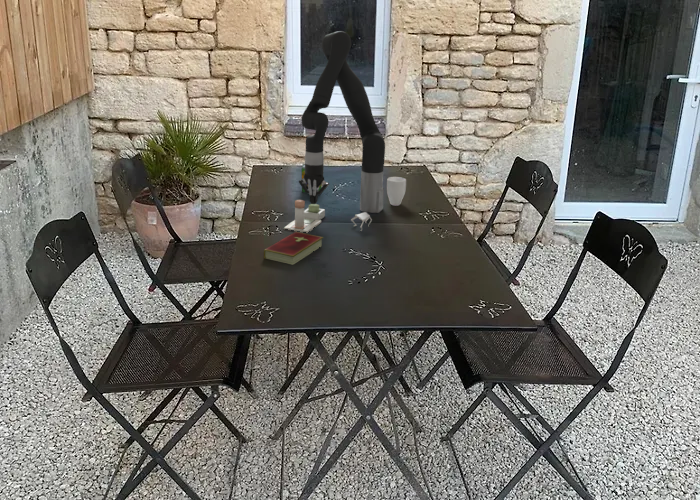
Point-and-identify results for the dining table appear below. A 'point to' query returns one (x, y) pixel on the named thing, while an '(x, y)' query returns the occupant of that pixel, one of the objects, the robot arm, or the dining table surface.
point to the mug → (396, 189)
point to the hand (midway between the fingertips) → (313, 203)
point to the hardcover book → (293, 248)
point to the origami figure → (362, 218)
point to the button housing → (314, 214)
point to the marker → (299, 213)
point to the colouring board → (308, 225)
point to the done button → (314, 208)
